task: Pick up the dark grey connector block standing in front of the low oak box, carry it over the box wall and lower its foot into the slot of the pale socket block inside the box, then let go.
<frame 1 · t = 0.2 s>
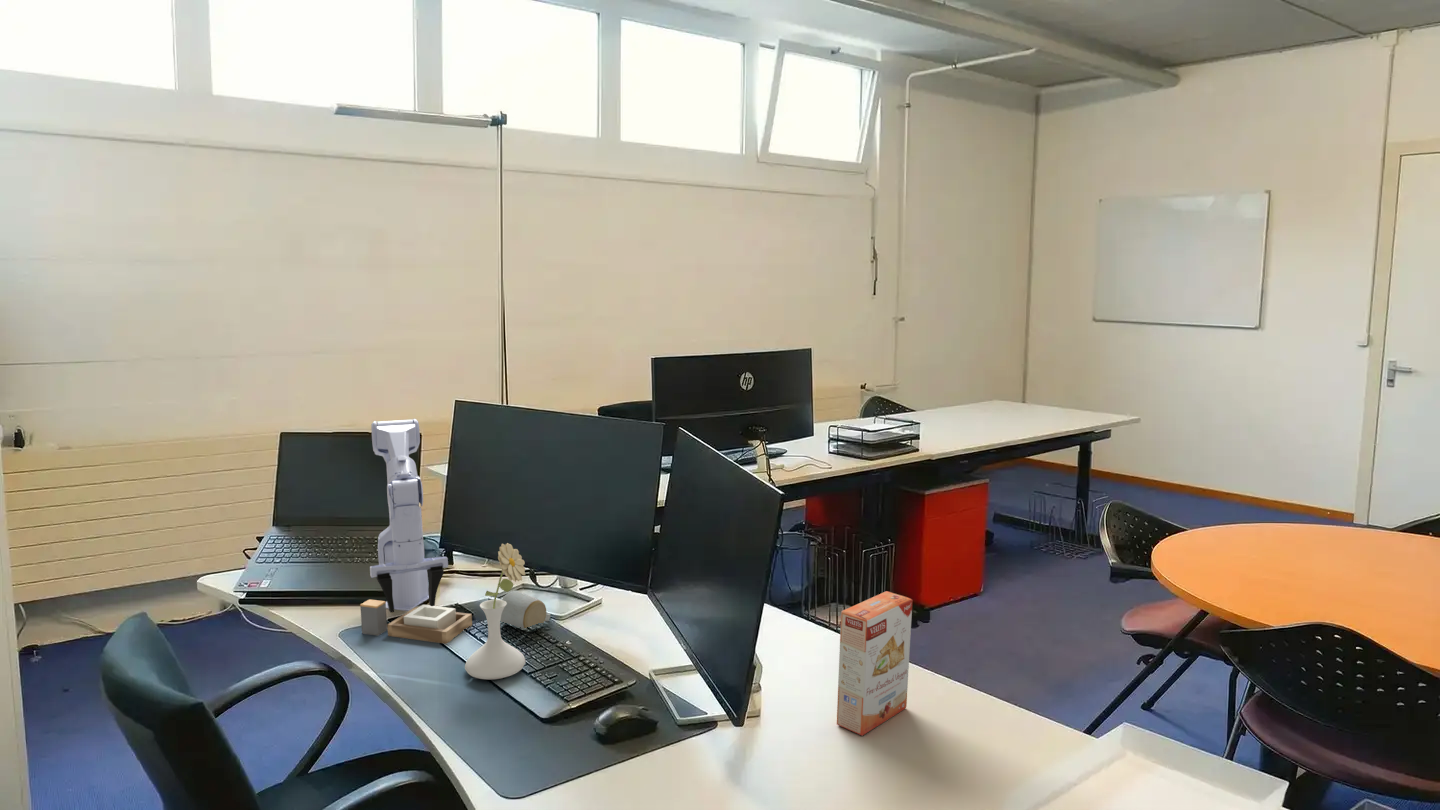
hand: (412, 608, 177), 11 cm above the table, tool pointing down, fingers open, 7 cm apart
cracker box: (873, 718, 157), on the table
socket block: (430, 630, 192), resting on walled box
connector: (374, 634, 191), on the table
flower in vase: (498, 671, 174), on the table
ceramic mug: (527, 626, 196), on the table
walled box: (430, 632, 192), on the table
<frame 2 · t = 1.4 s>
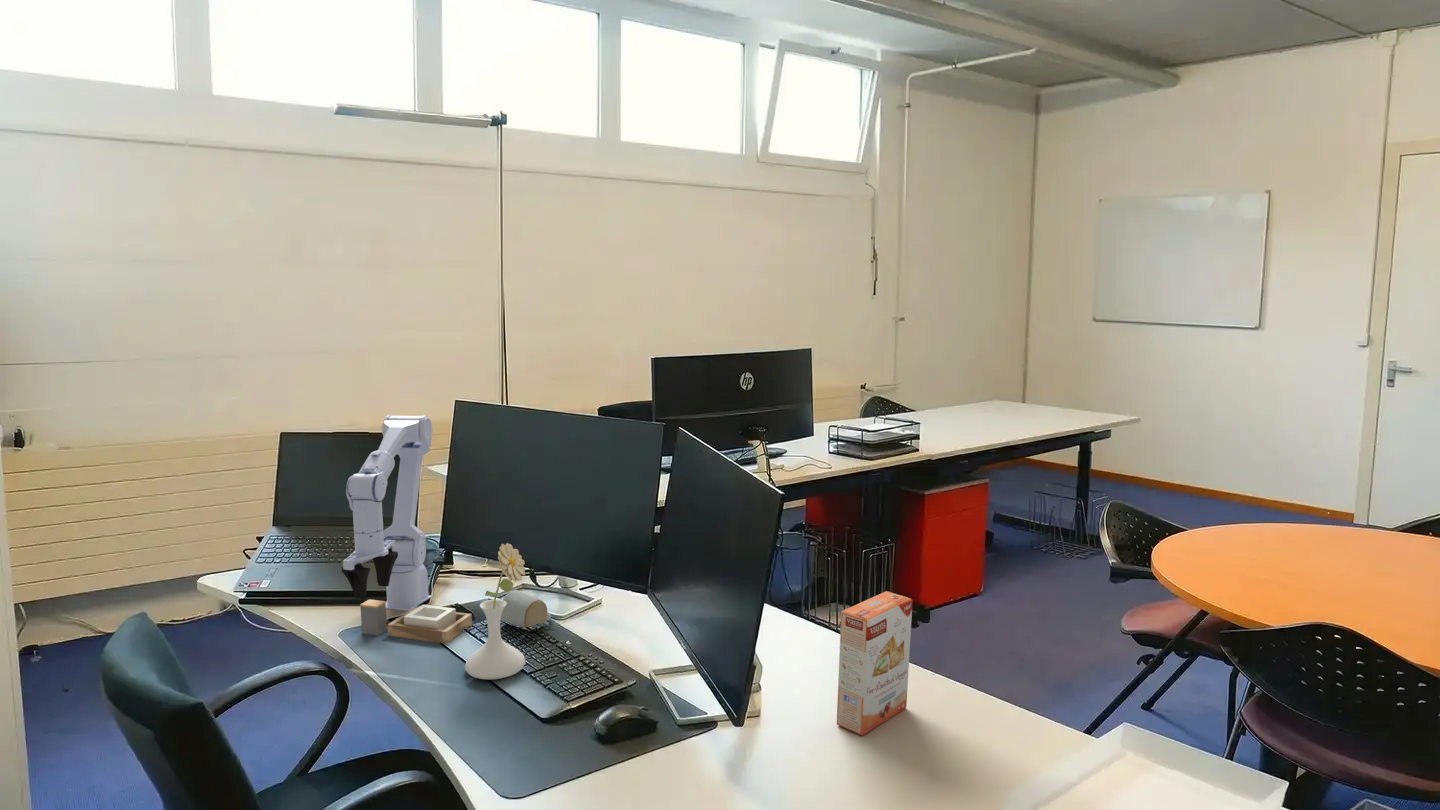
hand: (372, 591, 189), 9 cm above the table, tool pointing down, fingers open, 7 cm apart
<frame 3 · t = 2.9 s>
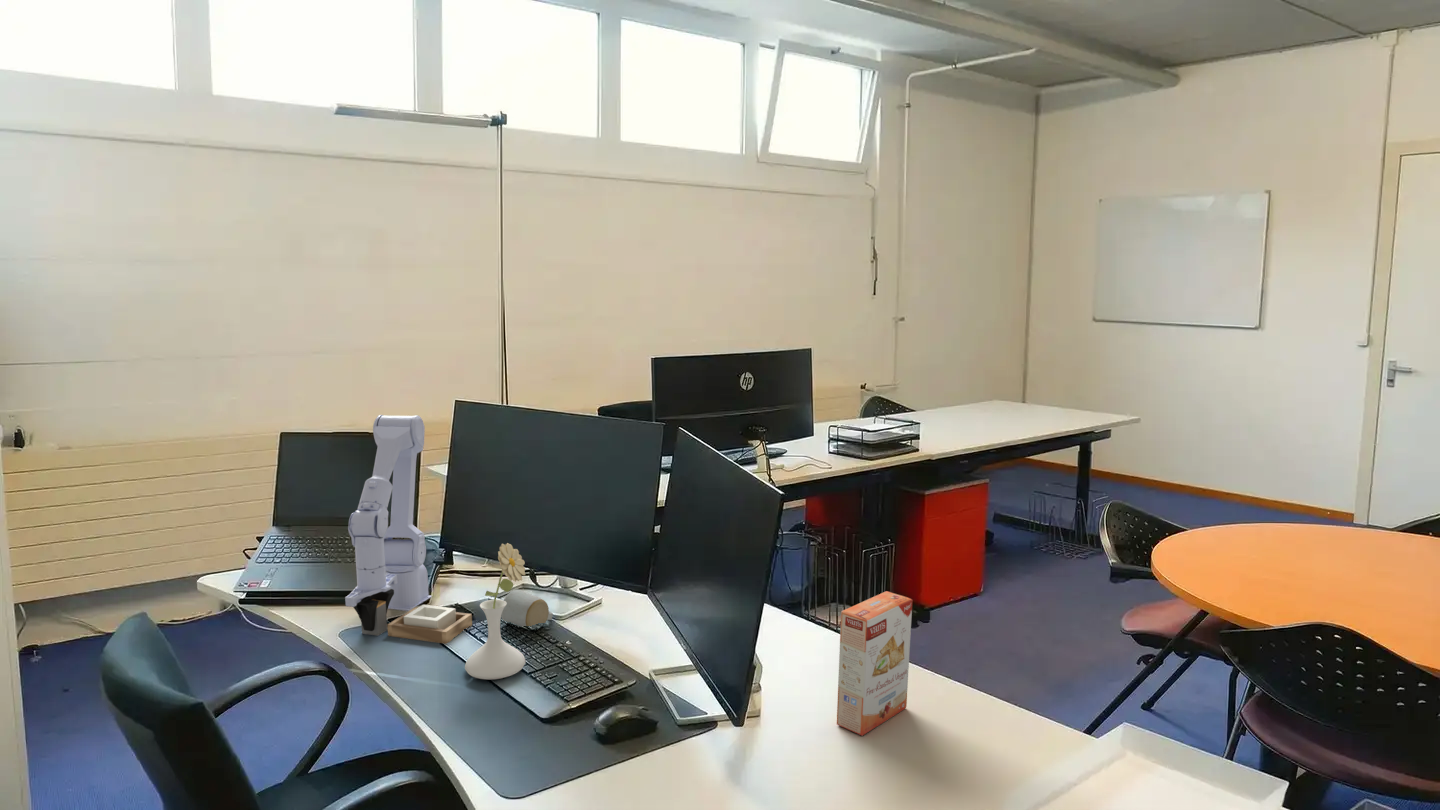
hand: (374, 626, 190), 2 cm above the table, tool pointing down, fingers closed on connector, 3 cm apart
connector: (374, 634, 191), on the table, touching gripper
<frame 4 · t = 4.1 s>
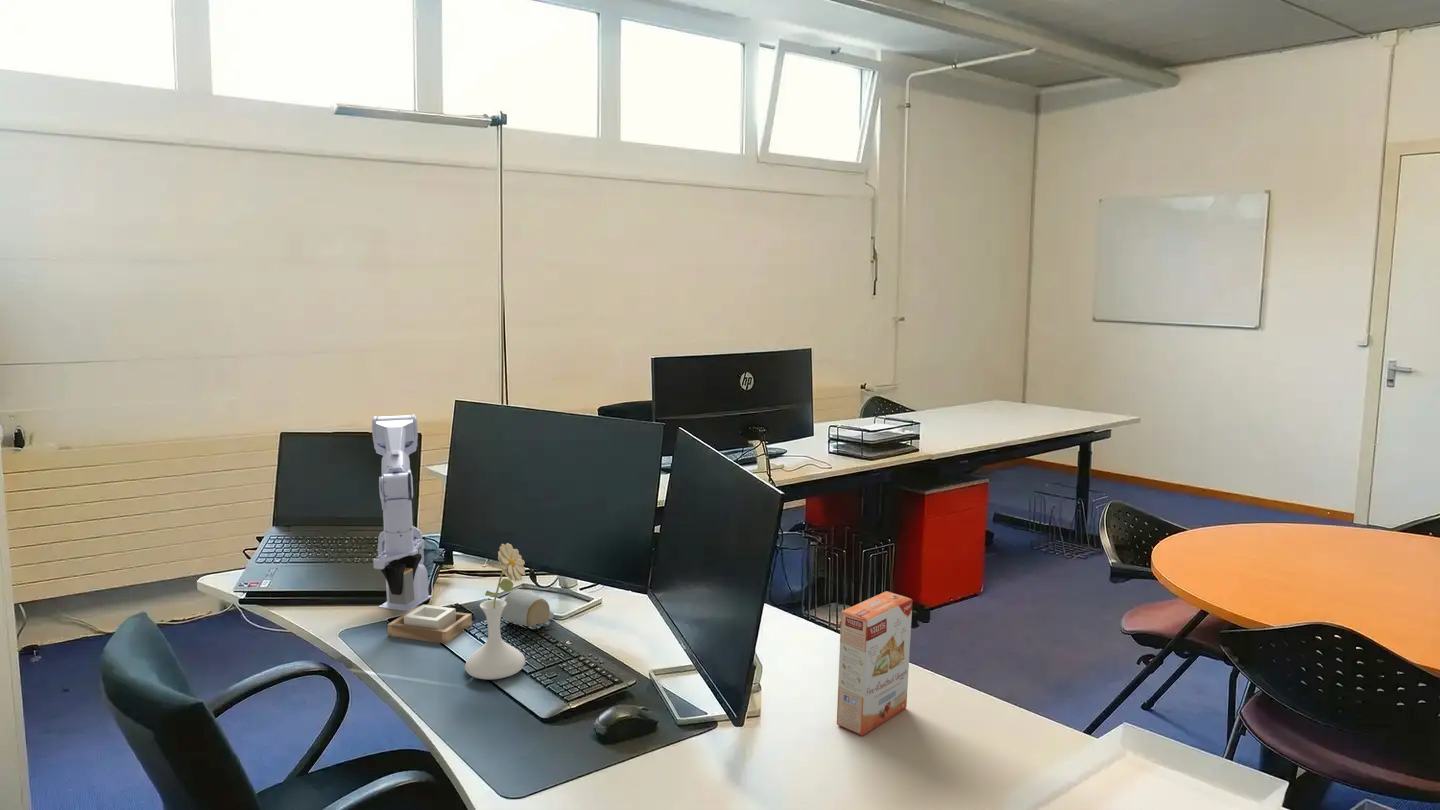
hand: (401, 591, 190), 9 cm above the table, tool pointing down, fingers closed on connector, 3 cm apart
connector: (402, 601, 190), point 7 cm above the table, touching gripper
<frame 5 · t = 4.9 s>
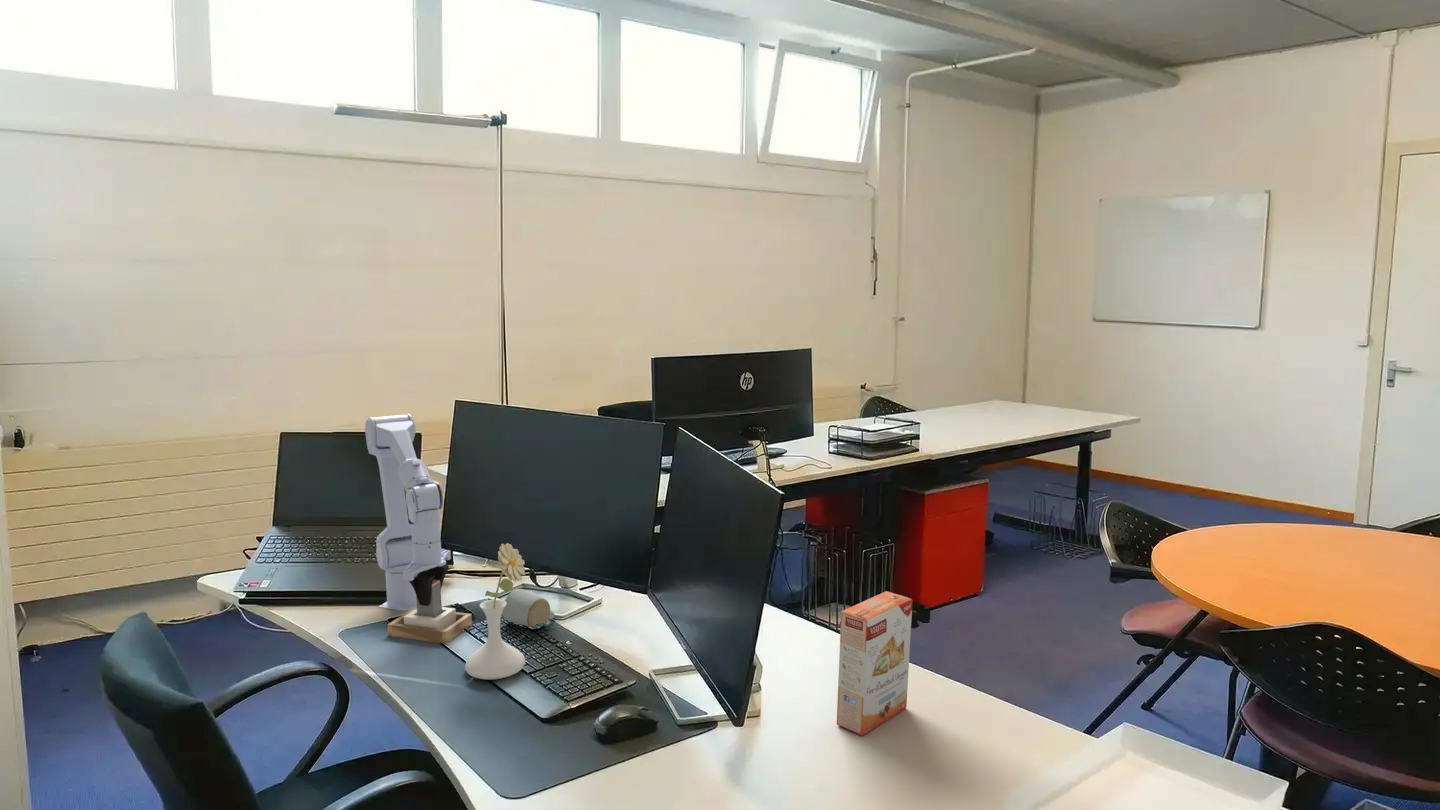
hand: (429, 601, 191), 7 cm above the table, tool pointing down, fingers closed on connector, 3 cm apart
connector: (429, 613, 191), point 4 cm above the table, touching gripper
when the fingers open (5 cm above the table, at t = 5.5 s): connector stays where it is, resting on socket block.
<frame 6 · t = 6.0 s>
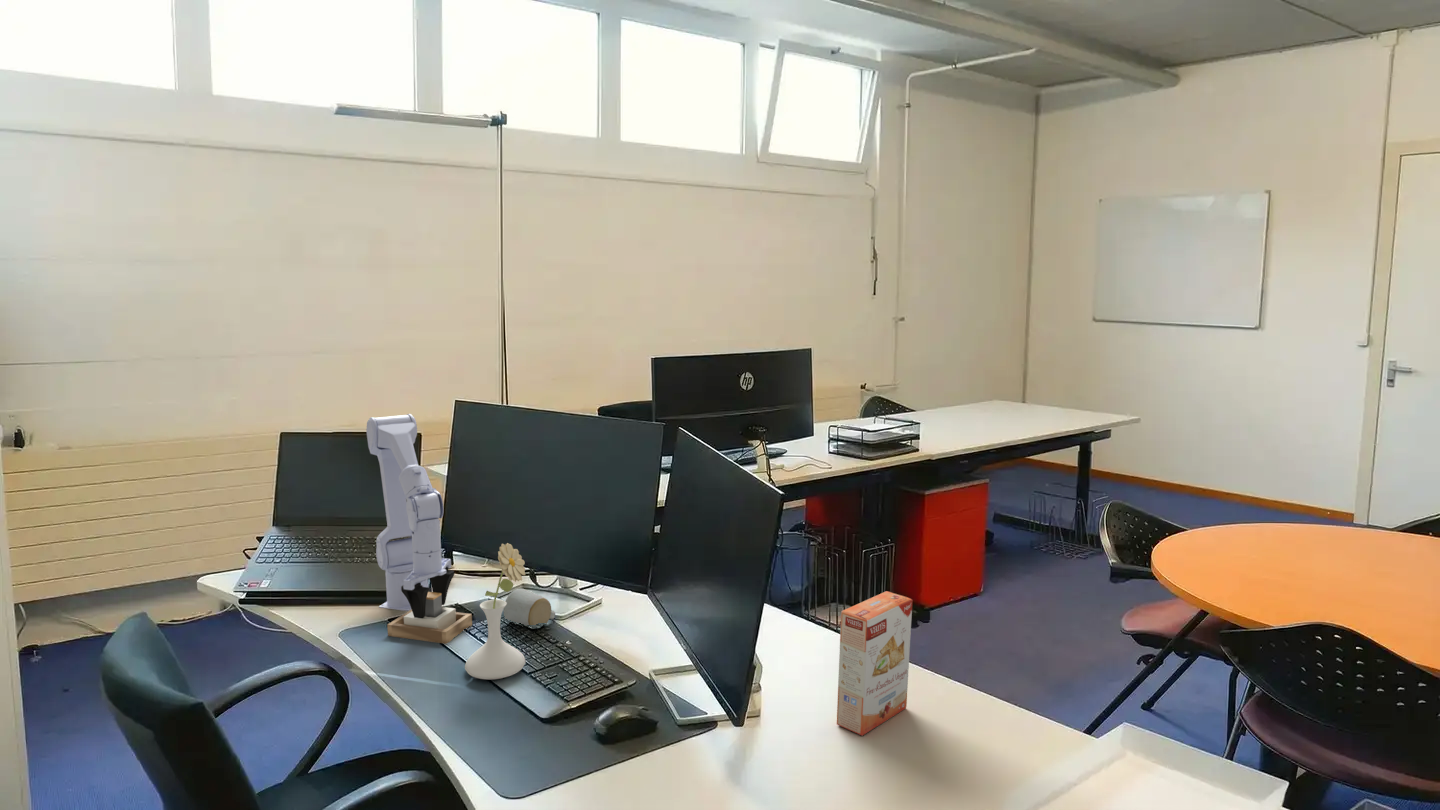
hand: (429, 610, 191), 5 cm above the table, tool pointing down, fingers open, 7 cm apart
connector: (430, 625, 191), point 1 cm above the table, touching socket block
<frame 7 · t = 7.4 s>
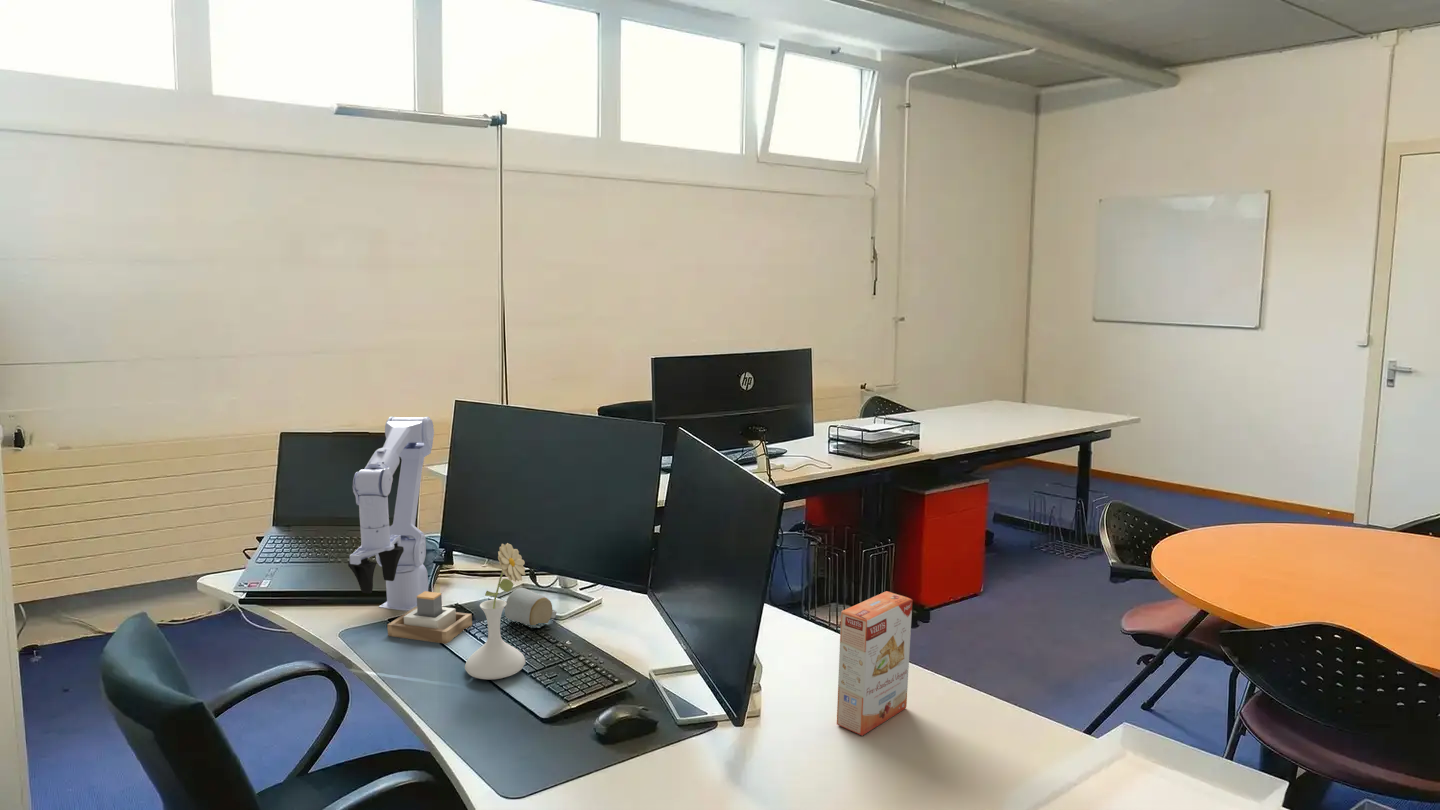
hand: (378, 586, 191), 10 cm above the table, tool pointing down, fingers open, 7 cm apart
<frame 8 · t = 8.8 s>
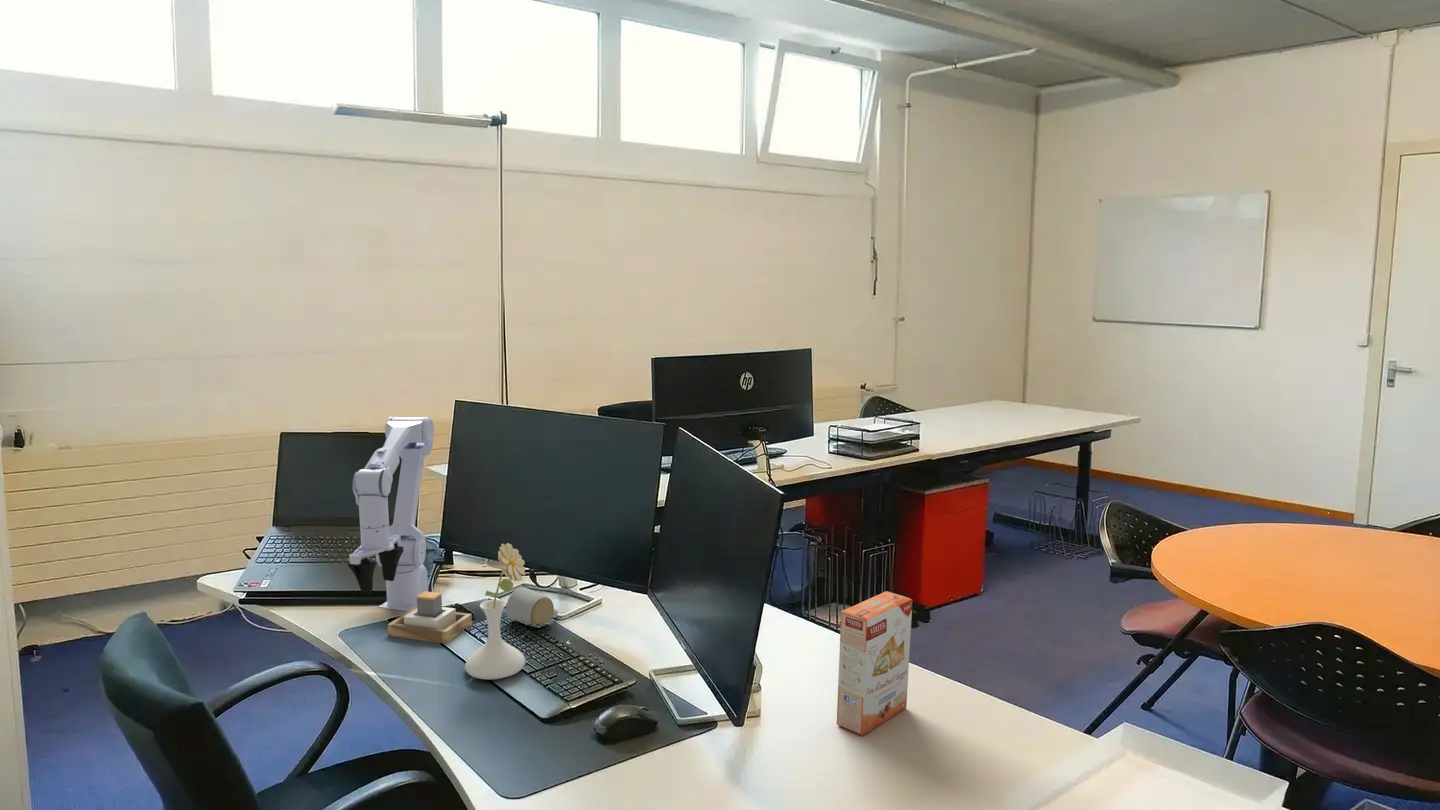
hand: (378, 586, 191), 10 cm above the table, tool pointing down, fingers open, 7 cm apart
at the end: connector 0.0 cm off-centre on the socket block, point 1.0 cm above the socket block's base; connector tilted 0°; the gripper is holding nothing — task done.
